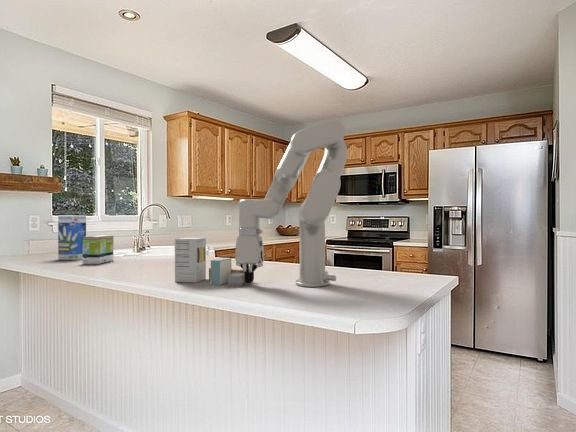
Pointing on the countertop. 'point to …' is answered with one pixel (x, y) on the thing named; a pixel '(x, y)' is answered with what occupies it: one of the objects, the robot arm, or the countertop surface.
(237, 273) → the grey rounded block
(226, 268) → the book
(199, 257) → the supplement box
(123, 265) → the countertop surface
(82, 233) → the string lights box
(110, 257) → the tea box
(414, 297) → the countertop surface
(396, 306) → the countertop surface
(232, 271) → the rail
